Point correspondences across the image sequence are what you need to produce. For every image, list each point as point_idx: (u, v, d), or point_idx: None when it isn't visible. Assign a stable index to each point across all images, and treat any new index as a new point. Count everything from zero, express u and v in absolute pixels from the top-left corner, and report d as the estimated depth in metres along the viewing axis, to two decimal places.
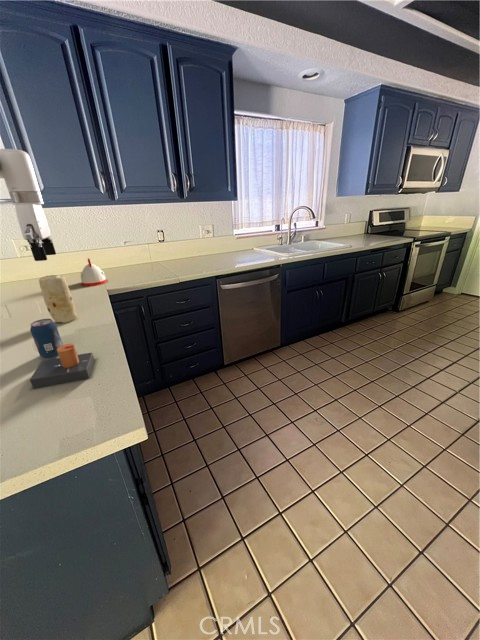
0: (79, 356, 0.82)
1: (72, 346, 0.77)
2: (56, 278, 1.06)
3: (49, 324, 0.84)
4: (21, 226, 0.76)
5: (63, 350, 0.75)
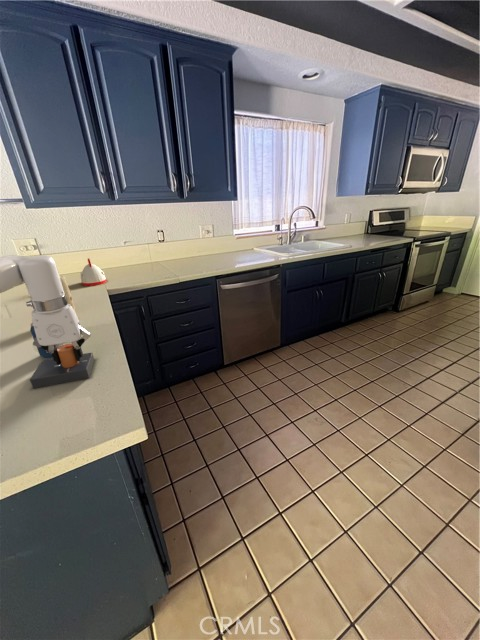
0: None
1: (72, 346, 0.77)
2: None
3: None
4: (76, 327, 0.73)
5: (63, 350, 0.75)
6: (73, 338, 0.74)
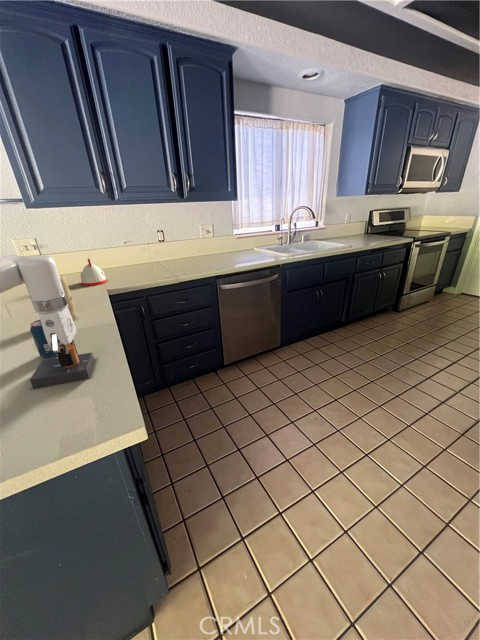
0: (79, 356, 0.82)
1: None
2: None
3: None
4: None
5: (71, 346, 0.77)
6: (75, 329, 0.79)
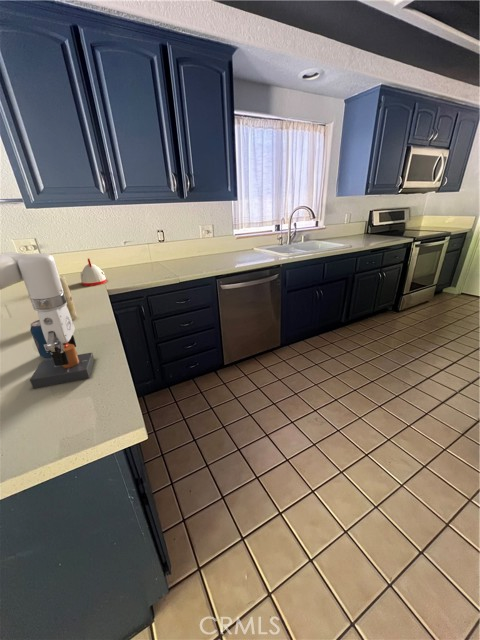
0: (79, 356, 0.82)
1: (68, 344, 0.78)
2: None
3: None
4: None
5: (71, 347, 0.77)
6: (73, 327, 0.78)
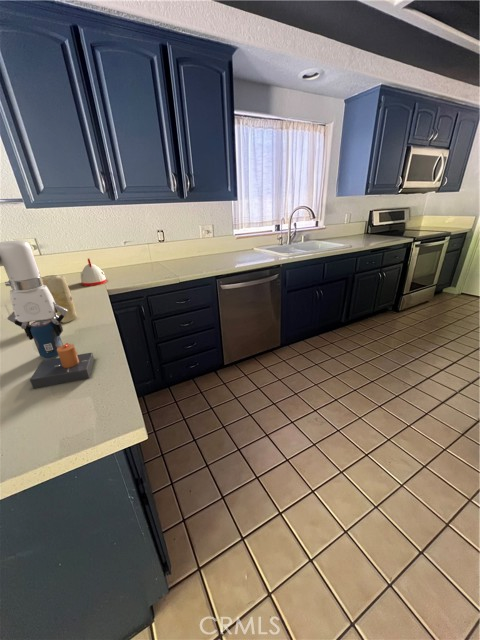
0: (79, 356, 0.82)
1: (68, 344, 0.78)
2: (56, 278, 1.06)
3: (49, 324, 0.84)
4: (51, 306, 0.82)
5: (71, 347, 0.77)
6: (48, 315, 0.82)
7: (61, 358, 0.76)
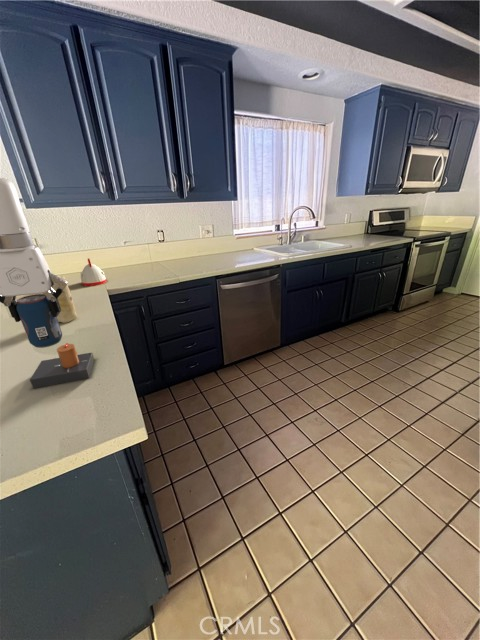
0: (79, 356, 0.82)
1: (68, 344, 0.78)
2: None
3: (42, 300, 0.62)
4: (45, 274, 0.60)
5: (71, 347, 0.77)
6: (41, 288, 0.60)
7: (61, 358, 0.76)
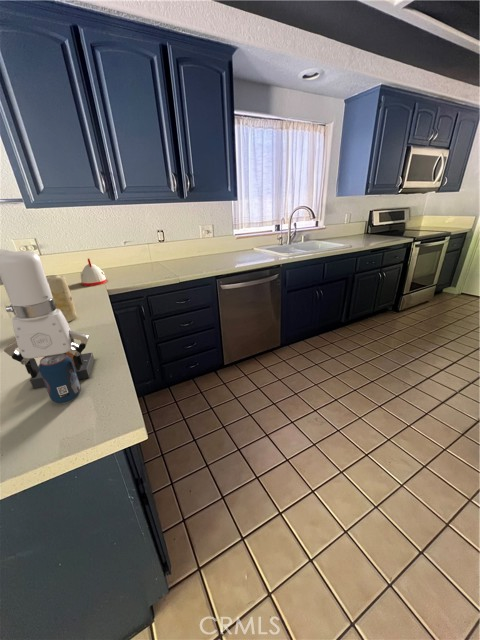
0: None
1: None
2: (56, 278, 1.06)
3: (64, 361, 0.65)
4: (67, 336, 0.62)
5: None
6: (63, 349, 0.62)
7: None
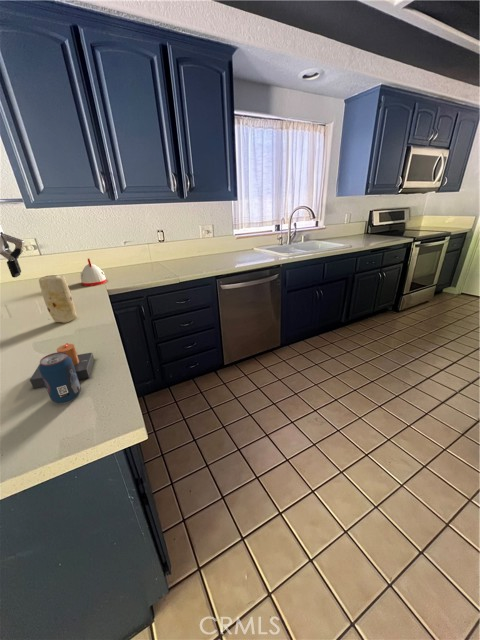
0: (79, 356, 0.82)
1: (68, 344, 0.78)
2: (56, 278, 1.06)
3: (64, 361, 0.65)
4: None
5: (71, 347, 0.77)
6: None
7: None
